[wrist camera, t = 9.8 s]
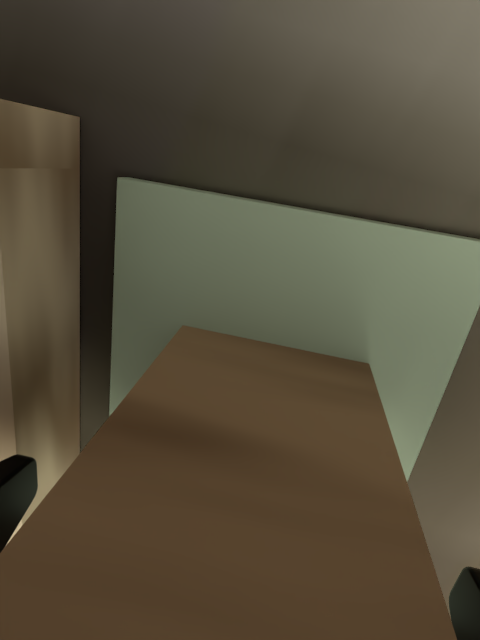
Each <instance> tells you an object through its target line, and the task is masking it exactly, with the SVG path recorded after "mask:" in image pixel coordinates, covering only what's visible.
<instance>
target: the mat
mask: <svg viewBox="0 0 480 640" xmlns="http://www.w3.org/2000/svg"><path fill="white" fill-rule="evenodd" d="M479 306H480V239H476V238H470V237H464V236H459V235H453V234H447V233H442V232H436V231H430V230H425V229H419V228H413V227H408V226H402V225H396V224H391V223H385V222H379V221H374V220H368V219H362V218H357V217H351V216H345V215H340V214H334V213H328V212H323V211H317V210H311V209H306V208H300V207H295V206H289V205H283V204H278V203H272V202H266V201H261V200H255V199H249V198H244V197H238V196H232V195H227V194H221V193H215V192H210V191H204V190H198V189H193V188H187V187H181V186H176V185H170V184H164V183H159V182H153V181H147V180H142V179H136V178H130V177H117V200H116V229H115V258H114V288H113V317H112V346H111V376H110V405H109V416H110V415H111V414H112V413H113V411H114V410H115V409H116V408H117V406H118V405H119V404H120V403H121V401H122V400H123V399H124V398H125V397H126V395H127V394H128V393H129V392H130V390H131V389H132V388H133V387H134V385H135V384H136V383H137V382H138V380H139V379H140V378H141V377H142V375H143V374H144V373H145V372H146V370H147V369H148V368H149V367H150V365H151V364H152V363H153V362H154V360H155V359H156V358H157V357H158V355H159V354H160V353H161V352H162V350H163V349H164V348H165V347H166V345H167V344H168V343H169V342H170V340H171V339H172V338H173V337H174V335H175V334H176V333H177V332H178V330H179V329H180V328H181V327H182V325H184V326H189V327H194V328H199V329H204V330H208V331H213V332H218V333H223V334H228V335H233V336H238V337H242V338H247V339H252V340H257V341H262V342H267V343H272V344H276V345H281V346H286V347H291V348H296V349H301V350H305V351H310V352H315V353H320V354H325V355H330V356H335V357H339V358H344V359H349V360H354V361H359V362H364V363H369V365H370V368H371V371H372V374H373V377H374V380H375V383H376V386H377V390H378V393H379V396H380V399H381V402H382V405H383V408H384V412H385V415H386V418H387V421H388V424H389V427H390V430H391V434H392V437H393V440H394V443H395V446H396V449H397V452H398V456H399V459H400V462H401V465H402V468H403V471H404V474H405V478H406V481H408V479H409V476H410V474H411V471H412V469H413V467H414V464H415V462H416V459H417V457H418V454H419V452H420V450H421V447H422V445H423V442H424V440H425V437H426V435H427V433H428V430H429V428H430V425H431V423H432V420H433V418H434V416H435V413H436V411H437V408H438V406H439V403H440V401H441V399H442V396H443V394H444V391H445V389H446V386H447V384H448V382H449V379H450V377H451V374H452V372H453V369H454V367H455V365H456V362H457V360H458V357H459V355H460V352H461V350H462V348H463V345H464V343H465V340H466V338H467V335H468V333H469V331H470V328H471V326H472V323H473V321H474V318H475V316H476V314H477V311H478V309H479Z"/></svg>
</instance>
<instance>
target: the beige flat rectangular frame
mask: <svg viewBox="0 0 480 640" xmlns="http://www.w3.org/2000/svg"><path fill="white" fill-rule="evenodd" d="M16 454H20V455H25V456H29V457H33V458H34V459H35V460H36V462H37V478H38V489H37V493H36V495H35V498H34V499H33V501H32V503H31V504H30V506H29V508H28V509H27V511H26V513H25V514H24V516H23V518H22V519H21V521H20V523H19V524H18V526H17V528H16V529H15V531H14V533H13V534H12V536H11V538H10V539H9V541H10V540H11V539H12V538H13V536H14V535H15V534H16V533H17V531H18V530H19V529H20V528H21V526H22V525H23V524H24V523H25V521H26V520H27V519H28V518H29V516H30V515H31V514H32V513H33V511H34V510H35V509H36V508H37V506H38V505H39V504H40V503H41V501H42V500H43V499H44V498H45V496H46V495H47V494H48V493H49V491H50V490H51V489H52V488H53V486H54V485H55V484H56V483H57V481H58V480H59V479H60V478H61V476H62V475H63V474H64V473H65V471H66V470H67V469H68V468H69V466H70V465H71V464H72V463H73V461H74V460H75V459H76V458H77V456H78V455H79V454H80V117H77V116H73V115H69V114H64V113H60V112H56V111H51V110H47V109H43V108H38V107H34V106H29V105H25V104H21V103H16V102H12V101H8V100H3V99H0V461H2V460H4V459H6V458H8V457H11V456H13V455H16ZM9 541H8V543H9ZM8 543H7V544H8ZM7 544H6V545H7Z"/></svg>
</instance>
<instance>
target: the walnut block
mask: <svg viewBox="0 0 480 640" xmlns="http://www.w3.org/2000/svg"><path fill="white" fill-rule="evenodd" d="M0 640H457V638H456V635H455V631H454V628H453V625H452V622H451V619H450V616H449V613H448V609H447V606H446V603H445V600H444V597H443V594H442V591H441V587H440V584H439V581H438V578H437V575H436V572H435V569H434V566H433V562H432V559H431V556H430V553H429V550H428V547H427V544H426V540H425V537H424V534H423V531H422V528H421V525H420V522H419V518H418V515H417V512H416V509H415V506H414V503H413V500H412V496H411V493H410V490H409V487H408V484H407V481H406V478H405V474H404V471H403V468H402V465H401V462H400V459H399V456H398V452H397V449H396V446H395V443H394V440H393V437H392V434H391V430H390V427H389V424H388V421H387V418H386V415H385V412H384V408H383V405H382V402H381V399H380V396H379V393H378V390H377V386H376V383H375V380H374V377H373V374H372V371H371V368H370V365H369V363H364V362H359V361H354V360H349V359H344V358H339V357H335V356H330V355H325V354H320V353H315V352H310V351H305V350H301V349H296V348H291V347H286V346H281V345H276V344H272V343H267V342H262V341H257V340H252V339H247V338H242V337H238V336H233V335H228V334H223V333H218V332H213V331H208V330H204V329H199V328H194V327H189V326H184V325H182V327H181V328H180V329H179V330H178V332H177V333H176V334H175V335H174V337H173V338H172V339H171V340H170V342H169V343H168V344H167V345H166V347H165V348H164V349H163V350H162V352H161V353H160V354H159V355H158V357H157V358H156V359H155V360H154V362H153V363H152V364H151V365H150V367H149V368H148V369H147V370H146V372H145V373H144V374H143V375H142V377H141V378H140V379H139V380H138V382H137V383H136V384H135V385H134V387H133V388H132V389H131V390H130V392H129V393H128V394H127V395H126V397H125V398H124V399H123V400H122V401H121V403H120V404H119V405H118V406H117V408H116V409H115V410H114V411H113V413H112V414H111V415H110V416H109V418H108V419H107V420H106V421H105V423H104V424H103V425H102V426H101V428H100V429H99V430H98V431H97V433H96V434H95V435H94V436H93V438H92V439H91V440H90V441H89V443H88V444H87V445H86V446H85V448H84V449H83V450H82V451H81V453H80V454H79V455H78V456H77V458H76V459H75V460H74V461H73V463H72V464H71V465H70V466H69V468H68V469H67V470H66V471H65V473H64V474H63V475H62V476H61V478H60V479H59V480H58V481H57V483H56V484H55V485H54V486H53V488H52V489H51V490H50V491H49V493H48V494H47V495H46V496H45V498H44V499H43V500H42V501H41V503H40V504H39V505H38V506H37V508H36V509H35V510H34V511H33V513H32V514H31V515H30V516H29V518H28V519H27V520H26V521H25V523H24V524H23V525H22V526H21V528H20V529H19V530H18V531H17V533H16V534H15V535H14V536H13V538H12V539H11V540H10V541H9V543H8V544H7V545H6V546H5V548H4V549H3V550H2V551H1V553H0Z"/></svg>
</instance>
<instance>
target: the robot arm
mask: <svg viewBox="0 0 480 640" xmlns="http://www.w3.org/2000/svg"><path fill="white" fill-rule="evenodd" d="M37 489H38V478H37V462H36V460H35V459H34V458H33V457H29V456H25V455H20V454H16V455H13V456H11V457H8V458H6V459H4V460H2V461H0V553H1V551H2V550H3V549H4V548H5V546H6V544H7V543H8V541H9V539H10V538H11V536H12V534H13V533H14V531H15V529H16V528H17V526H18V524H19V523H20V521H21V519H22V518H23V516H24V514H25V513H26V511H27V509H28V508H29V506H30V504H31V503H32V501H33V499H34V498H35V495H36V493H37ZM449 608H450V614H451V621H452V625H453V628H454V631H455V635H456V638H457V640H480V569H477V568H473V567H465V568H464V569H463V570H462V572H461V573H460V575H459V577H458V579H457V581H456V583H455V584H454V586H453V588H452V590H451V592H450V596H449Z"/></svg>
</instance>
